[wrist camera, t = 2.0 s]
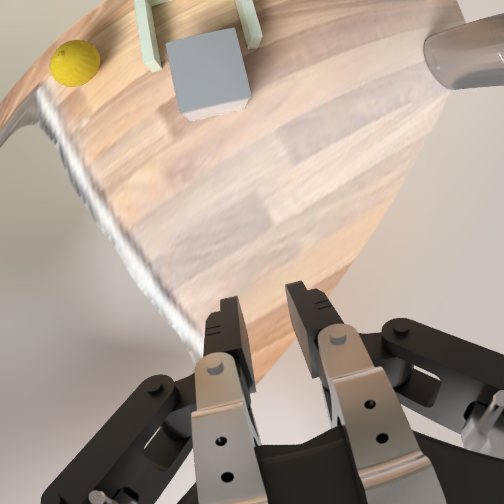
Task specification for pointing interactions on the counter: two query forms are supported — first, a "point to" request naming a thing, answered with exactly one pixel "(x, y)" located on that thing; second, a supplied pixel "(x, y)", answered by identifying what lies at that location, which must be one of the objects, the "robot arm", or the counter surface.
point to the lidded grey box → (208, 74)
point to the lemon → (75, 63)
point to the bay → (148, 35)
